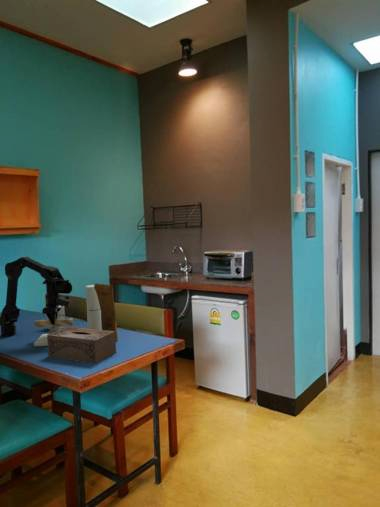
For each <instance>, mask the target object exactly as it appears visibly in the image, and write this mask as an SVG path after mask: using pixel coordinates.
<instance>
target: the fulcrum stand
mask: <svg viewBox="0 0 380 507" xmlns="http://www.w3.org/2000/svg"><path fill="white" fill-rule="evenodd" d="M60 330H62V328H59V326H55V327H51V328H50V329H49V333H43V334H41V335H40V337H38V338H37V339H36V340H35V342H34V343H33V345H34V347H44V346H45V347H46V346H47V347H48V342H47V335H49V334H51V333H54V332H57V331H60Z"/></svg>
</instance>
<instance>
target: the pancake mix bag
mask: <svg viewBox="0 0 380 507" xmlns="http://www.w3.org/2000/svg"><path fill="white" fill-rule="evenodd" d="M93 285H94V289H95V291H96V293H97V297H98V301H99V305H100V309H101V329H102V330H106V331H115V338H116V342H118V341H119V335H118V326H117V318H116V309H115V299H114V287H113V286H112V285H110V284H105V283H101V284H100V283H97V282H95V283H94V284H93Z"/></svg>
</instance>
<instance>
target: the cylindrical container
mask: <svg viewBox="0 0 380 507" xmlns="http://www.w3.org/2000/svg"><path fill="white" fill-rule="evenodd" d="M94 285H95V284H90V285H86V286H85V301H86V318H87V319H86V320H87V321H86V322H87V329H96V330H102V322H101V309H100V305H99V301H98V297H97V293H96V291H95V289H94Z"/></svg>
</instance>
